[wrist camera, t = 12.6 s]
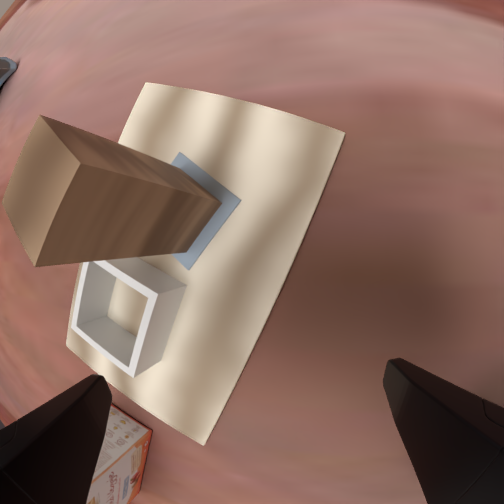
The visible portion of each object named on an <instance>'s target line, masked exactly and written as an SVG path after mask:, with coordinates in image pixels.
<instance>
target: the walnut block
mask: <svg viewBox="0 0 504 504" xmlns="http://www.w3.org/2000/svg"><path fill="white" fill-rule="evenodd" d="M2 204H3V206H4V208H5V211H6V213H7V215H8V217H9V219H10V221H11V223H12V226H13V228H14V230H15V232H16V234H17V236H18V238H19V239H20V241H21V243H22V245H23V247H24V249H25V251H26V253H27V254H28V256H29V258H30V260H31V261H32V263H33V265H34V267H41V266H51V265H61V264H71V263H81V262H92V261H102V260H112V259H123V258H133V257H144V256H154V255H165V254H176V253H186V252H187V251H188V249H189V248H190V247H191V245H192V244H193V242H194V241H195V240H196V238H197V237H198V236H199V234H200V233H201V231H202V230H203V229H204V227H205V226H206V225H207V223H208V222H209V221H210V219H211V218H212V216H213V215H214V214H215V212H216V211H217V210H218V208H219V207H220V206H221V204H222V202H220V201H219V200H218V199H217V198H216V197H214V196H213V195H212V194H211V193H210V192H208V191H207V190H206V189H205V188H203V187H202V186H201V185H200V184H199V183H197V182H196V181H195V180H194V179H192V178H191V177H190V176H189V175H188V174H186V173H185V172H184V171H183V170H181V169H180V168H178V167H175V166H173V165H171V164H168V163H166V162H163V161H161V160H159V159H156V158H154V157H151V156H149V155H146V154H144V153H141V152H139V151H136V150H134V149H131V148H129V147H126V146H124V145H121V144H119V143H116V142H113V141H111V140H108V139H106V138H103V137H100V136H98V135H95V134H92V133H90V132H87V131H84V130H82V129H79V128H76V127H73V126H71V125H68V124H65V123H62V122H59V121H56V120H54V119H51V118H48V117H45V116H42V115H39V117H38V119H37V121H36V123H35V125H34V126H33V128H32V130H31V132H30V134H29V137H28V139H27V141H26V143H25V145H24V147H23V149H22V152H21V154H20V156H19V158H18V161H17V163H16V166H15V168H14V170H13V173H12V176H11V178H10V181H9V183H8V186H7V189H6V192H5V195H4V197H3V200H2Z"/></svg>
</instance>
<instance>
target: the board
mask: <svg viewBox="0 0 504 504" xmlns="http://www.w3.org/2000/svg"><path fill="white" fill-rule="evenodd" d="M344 137H345V133H344V132H342V131H339V130H337V129H334V128H331V127H328V126H326V125H323V124H320V123H317V122H314V121H311V120H308V119H305V118H302V117H299V116H296V115H293V114H290V113H286V112H283V111H280V110H276V109H273V108H269V107H266V106H262V105H258V104H255V103H251V102H247V101H243V100H239V99H235V98H231V97H226V96H222V95H217V94H213V93H208V92H203V91H198V90H192V89H187V88H181V87H175V86H169V85H162V84H155V83H147V82H146V83H145V85H144V87H143V89H142V91H141V93H140V95H139V97H138V99H137V101H136V103H135V105H134V108H133V110H132V112H131V114H130V116H129V118H128V121H127V123H126V125H125V127H124V130H123V132H122V134H121V137H120V139H119V142H118V143H119V144H121V145H124V146H126V147H129V148H131V149H134V150H136V151H139V152H141V153H144V154H146V155H149V156H151V157H154V158H156V159H159V160H161V161H163V162H166V163H168V164H171V165H173V166H175V167H178V168H180V169H181V170H183V171H184V172H185V173H186V174H188V175H189V176H190V177H191V178H192V179H194V180H195V181H196V182H197V183H199V184H200V185H201V186H202V187H203V188H205V189H206V190H207V191H208V192H210V193H211V194H212V195H213V196H214V197H216V198H217V199H218V200H219V201H220V202H222V204H221V206H220V207H219V208H218V210H217V211H216V212H215V214H214V215H213V216H212V218H211V219H210V221H209V222H208V223H207V225H206V226H205V227H204V229H203V230H202V231H201V233H200V234H199V236H198V237H197V238H196V240H195V241H194V242H193V244H192V245H191V247H190V248H189V249H188V251H187V252H186V253H176V254H165V255H154V256H144V257H138V258H140V259H141V260H143V261H145V262H146V263H148V264H150V265H152V266H153V267H155V268H157V269H159V270H161V271H162V272H164V273H166V274H168V275H169V276H171V277H173V278H175V279H177V280H178V281H180V282H182V283H184V284H186V285H187V287H186V290H185V292H184V295H183V298H182V301H181V304H180V307H179V309H178V312H177V315H176V318H175V321H174V324H173V327H172V330H171V332H170V335H169V338H168V341H167V344H166V347H165V350H164V353H163V356H162V359H161V361H160V362H158V363H156V364H155V365H153V366H152V367H150V368H149V369H147V370H146V371H144V372H142V373H141V374H139V375H138V376H136V377H135V378H132V377H131V376H130V375H128V374H127V373H126V372H124V371H123V370H122V369H120V368H119V367H118V366H116V365H115V364H114V363H112V362H111V361H110V360H109V359H107V358H106V357H105V356H104V355H102V354H101V353H100V352H99V351H97V350H96V349H95V348H94V347H92V346H91V345H90V344H89V343H88V342H87V341H85V340H84V339H83V338H82V337H81V336H80V335H78V334H77V333H76V332H75V331H74V330H73V329H72V328H71V324H72V318H73V312H74V306H75V300H76V295H77V289H78V284H79V280H80V275H81V270H82V266H83V262H81V263H80V265H79V270H78V274H77V279H76V284H75V289H74V295H73V300H72V306H71V312H70V319H69V326H68V333H67V341H66V346H67V347H68V348H69V349H70V350H71V351H73V352H74V353H75V354H76V355H77V356H78V357H79V358H80V359H81V360H83V361H84V362H85V363H86V364H87V365H88V366H89V367H91V368H92V369H93V370H94V371H95V372H97V373H98V374H99V375H102V376H104V378H105V379H106V381H108V382H109V383H110V384H111V385H113V386H114V387H115V388H116V389H118V390H119V391H120V392H122V393H123V394H124V395H126V396H127V397H128V398H130V399H131V400H133V401H134V402H135V403H137V404H138V405H139V406H141V407H142V408H144V409H145V410H147V411H148V412H150V413H151V414H153V415H154V416H156V417H157V418H159V419H160V420H162V421H163V422H165V423H166V424H168V425H169V426H171V427H173V428H174V429H176V430H178V431H179V432H181V433H183V434H184V435H186V436H188V437H189V438H191V439H193V440H194V441H196V442H198V443H200V444H202V445H203V446H204V445H205V443H206V442H207V440H208V438H209V436H210V434H211V432H212V430H213V428H214V427H215V425H216V423H217V421H218V419H219V417H220V415H221V413H222V411H223V409H224V407H225V405H226V403H227V401H228V399H229V397H230V395H231V393H232V391H233V389H234V387H235V385H236V383H237V381H238V379H239V377H240V375H241V373H242V371H243V369H244V367H245V365H246V363H247V361H248V359H249V357H250V355H251V353H252V351H253V349H254V347H255V344H256V342H257V340H258V338H259V336H260V334H261V332H262V330H263V328H264V325H265V323H266V321H267V319H268V317H269V315H270V312H271V310H272V308H273V306H274V304H275V302H276V299H277V297H278V295H279V293H280V291H281V288H282V286H283V284H284V282H285V279H286V277H287V275H288V273H289V270H290V268H291V266H292V264H293V261H294V259H295V257H296V255H297V252H298V250H299V248H300V245H301V243H302V241H303V238H304V236H305V234H306V231H307V229H308V227H309V224H310V222H311V219H312V217H313V215H314V212H315V210H316V207H317V205H318V203H319V200H320V198H321V195H322V193H323V190H324V188H325V185H326V183H327V181H328V178H329V176H330V173H331V171H332V168H333V165H334V163H335V160H336V158H337V155H338V153H339V150H340V148H341V145H342V142H343V140H344ZM147 301H148V297H146V296H145V295H143V294H141V293H140V292H138V291H137V290H135V289H134V288H132V287H130V286H129V285H127V284H126V283H124V282H123V281H121V280H120V279H118V278H116V281H115V285H114V289H113V293H112V297H111V301H110V305H109V309H108V314H107V316H108V317H109V318H110V319H112V320H113V321H114V322H116V323H117V324H118V325H120V326H121V327H122V328H124V329H125V330H127V331H128V332H130V333H131V334H132V335H134V336H135V337H137V335H138V331H139V328H140V324H141V321H142V317H143V314H144V310H145V307H146V304H147Z"/></svg>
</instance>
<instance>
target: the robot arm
mask: <svg viewBox="0 0 504 504" xmlns="http://www.w3.org/2000/svg"><path fill="white" fill-rule="evenodd" d="M383 386H384V389H385V392H386V395H387V399H388V402H389V405H390V408H391V412H392V415H393V418H394V421H395V424H396V427H397V429H398V431H399V434H400V436H401V438H402V441H403V443H404V445H405V448H406V450H407V453H408V455H409V457H410V460H411V462H412V465H413V467H414V470H415V472H416V475H417V477H418V480H419V482H420V485H421V488H422V490H423V493H424V495H425V498H426V501H427V503H428V504H504V408H503V407H501V406H498V405H496V404H494V403H492V402H490V401H487V400H485V399H482V398H481V397H479V396H477V395H475V394H473V393H471V392H468V391H466V390H464V389H462V388H460V387H458V386H456V385H454V384H452V383H450V382H448V381H446V380H444V379H442V378H440V377H438V376H436V375H434V374H432V373H430V372H428V371H426V370H424V369H422V368H420V367H418V366H416V365H414V364H412V363H410V362H408V361H406V360H404V359H402V358H395V359H391V360H389V361H388V362H387V365H386V370H385V374H384V378H383ZM111 403H112V394H111V391H110V389H109V387H108V384H107V382H106V379H105V378H104V376H102V375H95V374H92V375H90V376H88V377H87V378H85V379H83V380H82V381H80V382H79V383H77V384H75V385H74V386H72V387H71V388H69V389H67V390H66V391H64V392H63V393H61V394H59V395H58V396H56V397H54V398H53V399H51V400H49V401H48V402H46V403H45V404H43V405H41V406H40V407H38V408H36V409H35V410H33V411H31V412H30V413H28V414H26V415H25V416H23V417H22V418H20V419H18V420H17V421H15V422H13V423H11V424H10V425H8V426H6V427H5V428H3V429H1V430H0V504H86V502H87V498H88V494H89V490H90V487H91V483H92V479H93V475H94V472H95V468H96V465H97V461H98V458H99V454H100V451H101V448H102V444H103V441H104V437H105V433H106V428H107V422H108V417H109V412H110V408H111Z"/></svg>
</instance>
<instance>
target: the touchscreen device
mask: <svg viewBox="0 0 504 504" xmlns="http://www.w3.org/2000/svg"><path fill="white" fill-rule="evenodd" d="M16 69H17V64H16V63H15V62H14V61H12V60H11V59H9V58H7V57H0V87H1V85H2V84H3V83H4V81H5V80H6V79H7V78H8V77H9V76H10V75H11V74H12V73H13V72H14V71H15V70H16Z"/></svg>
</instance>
